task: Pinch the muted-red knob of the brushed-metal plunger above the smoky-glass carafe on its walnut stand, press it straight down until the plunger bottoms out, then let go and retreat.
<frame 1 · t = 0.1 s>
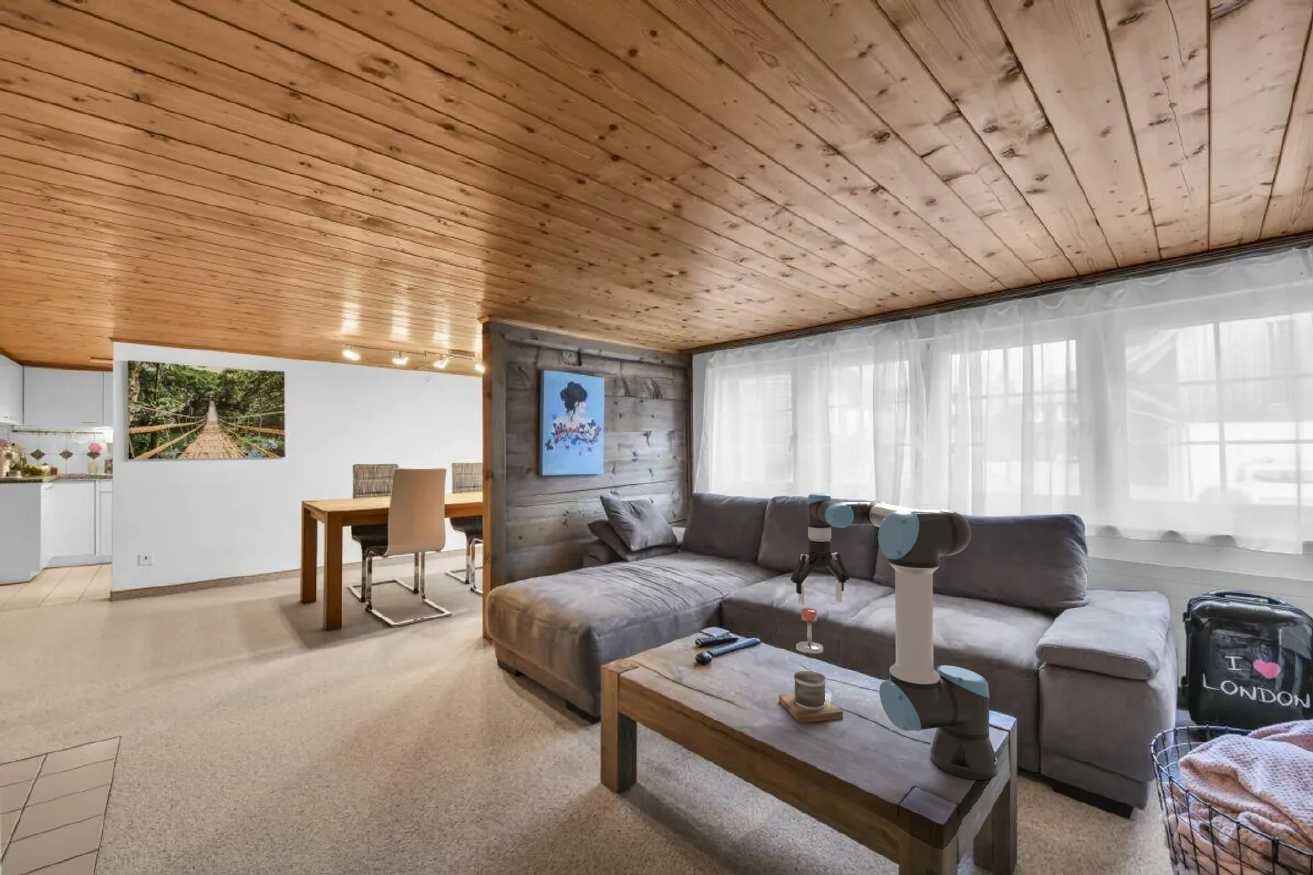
hand: (820, 602, 187), 28 cm above the table, fingers open, 13 cm apart
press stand: (810, 709, 169), on the table
plunger: (809, 629, 170), point 24 cm above the table, slide at 8.0 cm
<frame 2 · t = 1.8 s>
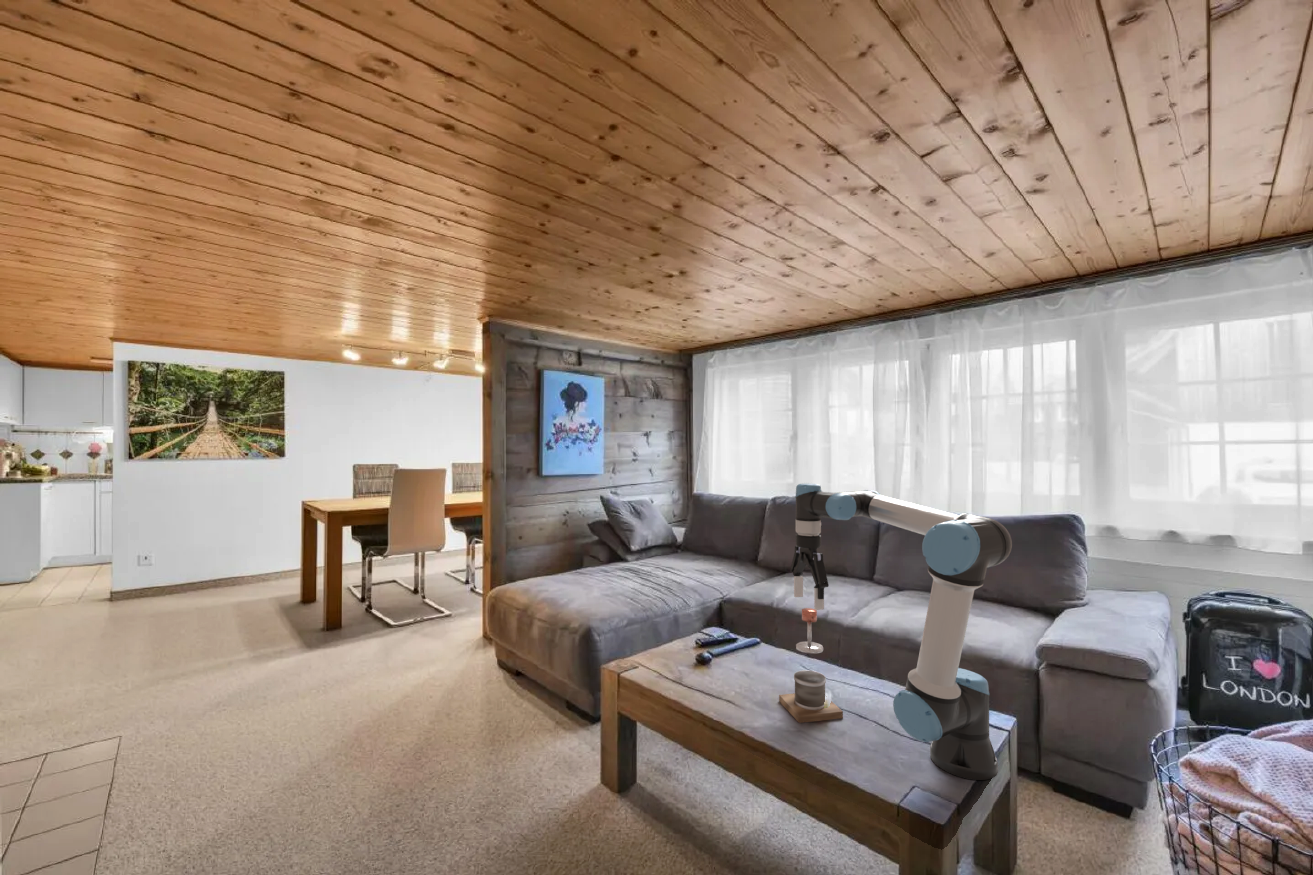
hand: (808, 602, 170), 32 cm above the table, fingers open, 13 cm apart
nothing on the table moved.
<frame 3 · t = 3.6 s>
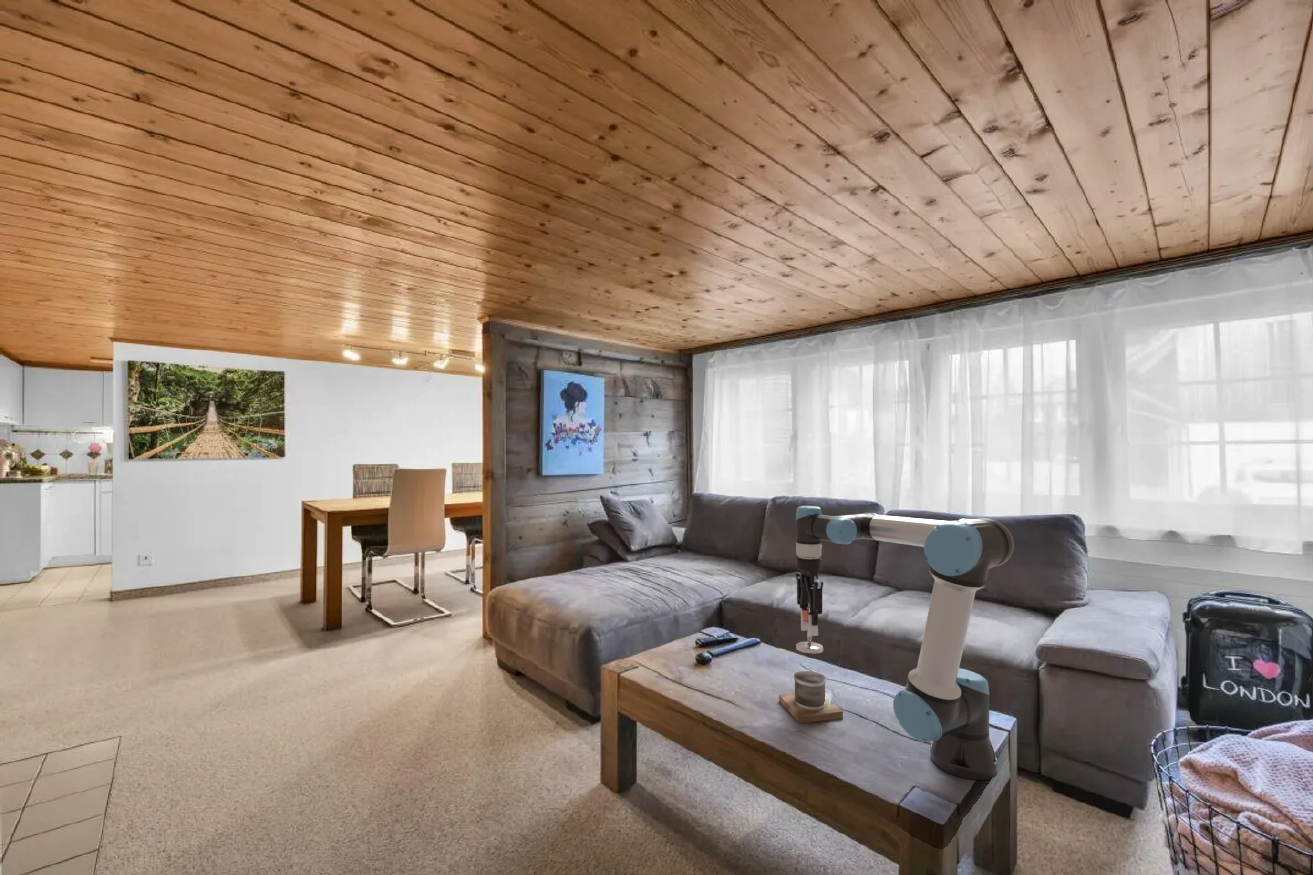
hand: (809, 632, 170), 23 cm above the table, fingers closed on plunger, 4 cm apart
plunger: (809, 629, 170), point 24 cm above the table, slide at 8.0 cm, touching gripper
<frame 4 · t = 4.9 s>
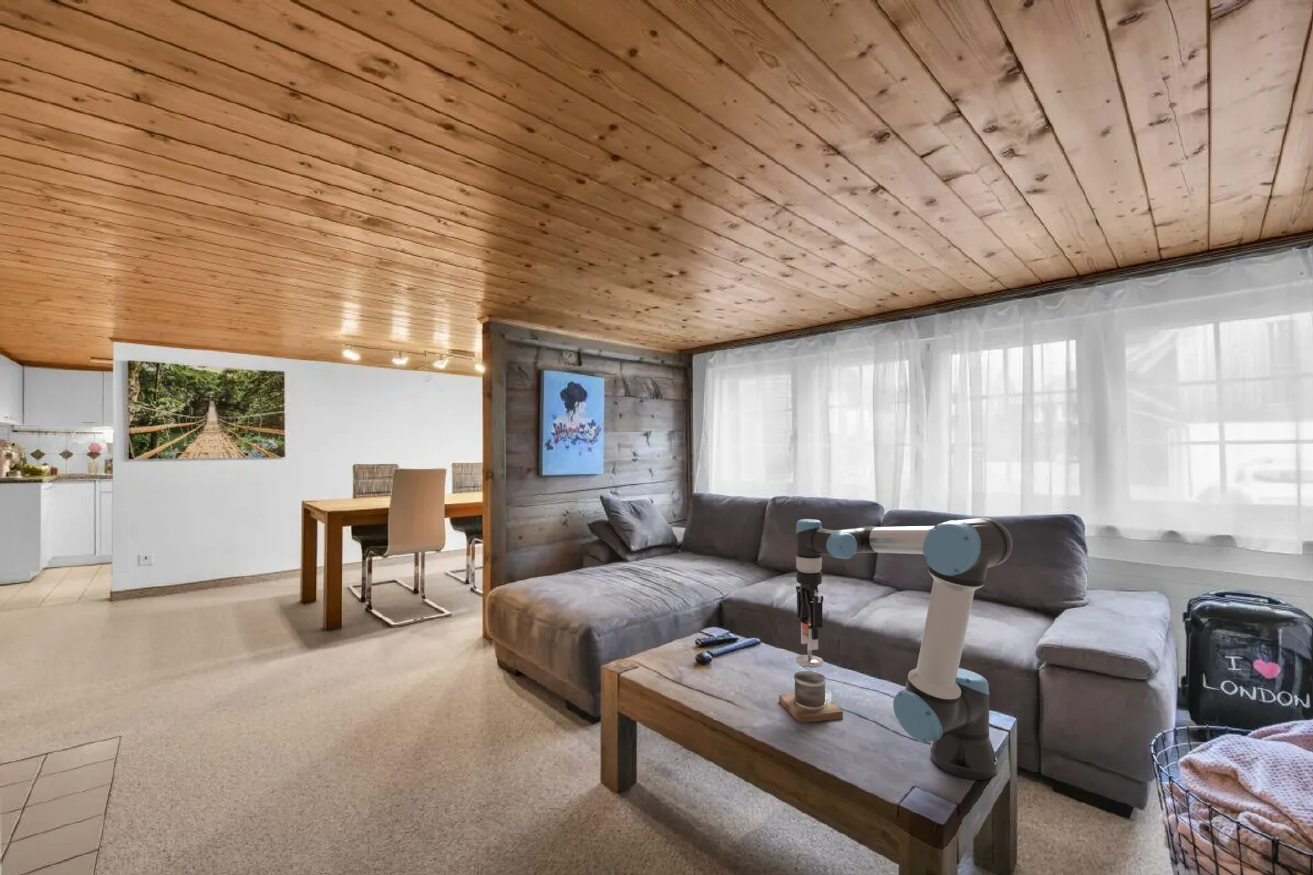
hand: (809, 646, 170), 19 cm above the table, fingers closed on plunger, 4 cm apart
plunger: (809, 643, 170), point 20 cm above the table, slide at 3.8 cm, touching gripper
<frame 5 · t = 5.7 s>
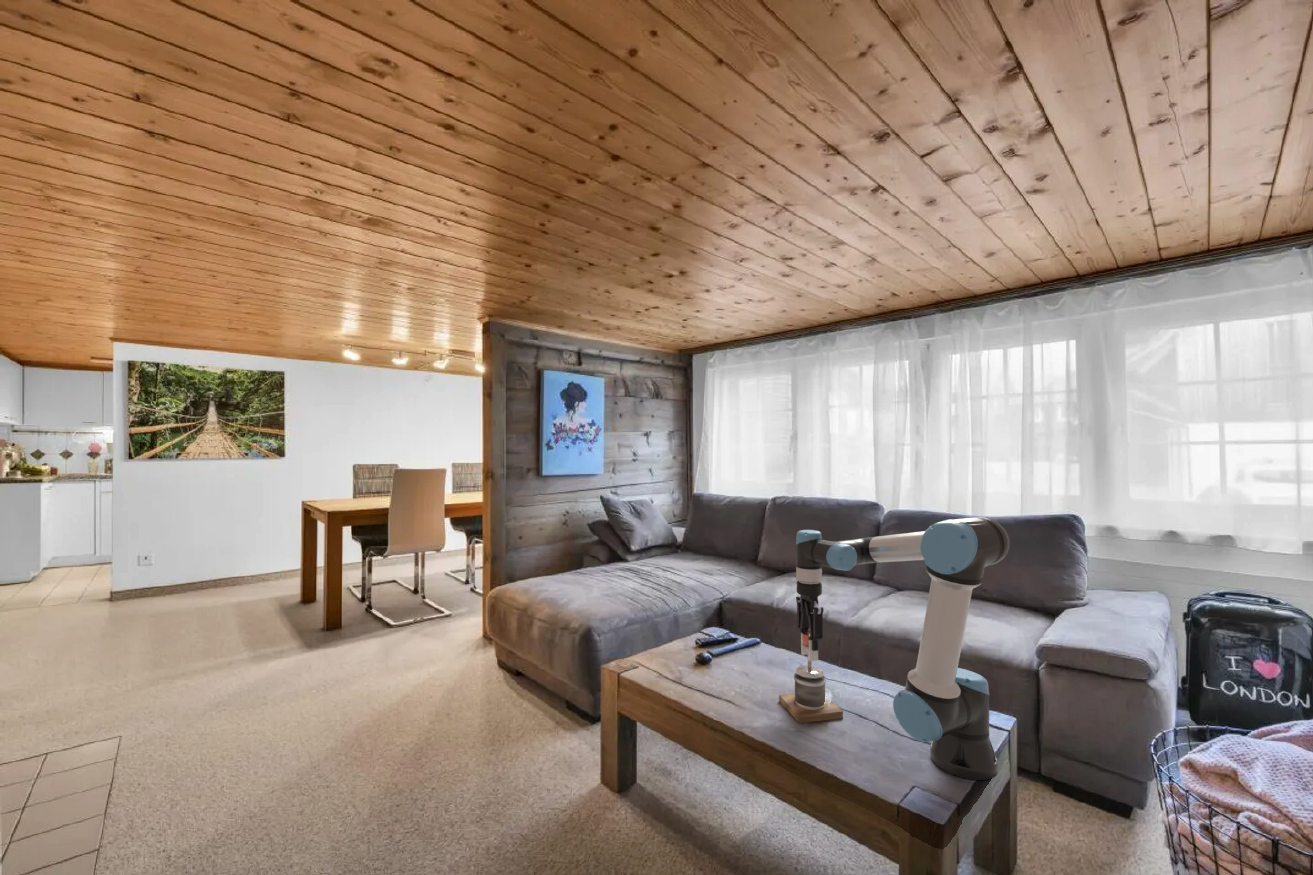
hand: (809, 657, 170), 16 cm above the table, fingers closed on plunger, 4 cm apart
plunger: (809, 654, 170), point 17 cm above the table, slide at 0.5 cm, touching gripper
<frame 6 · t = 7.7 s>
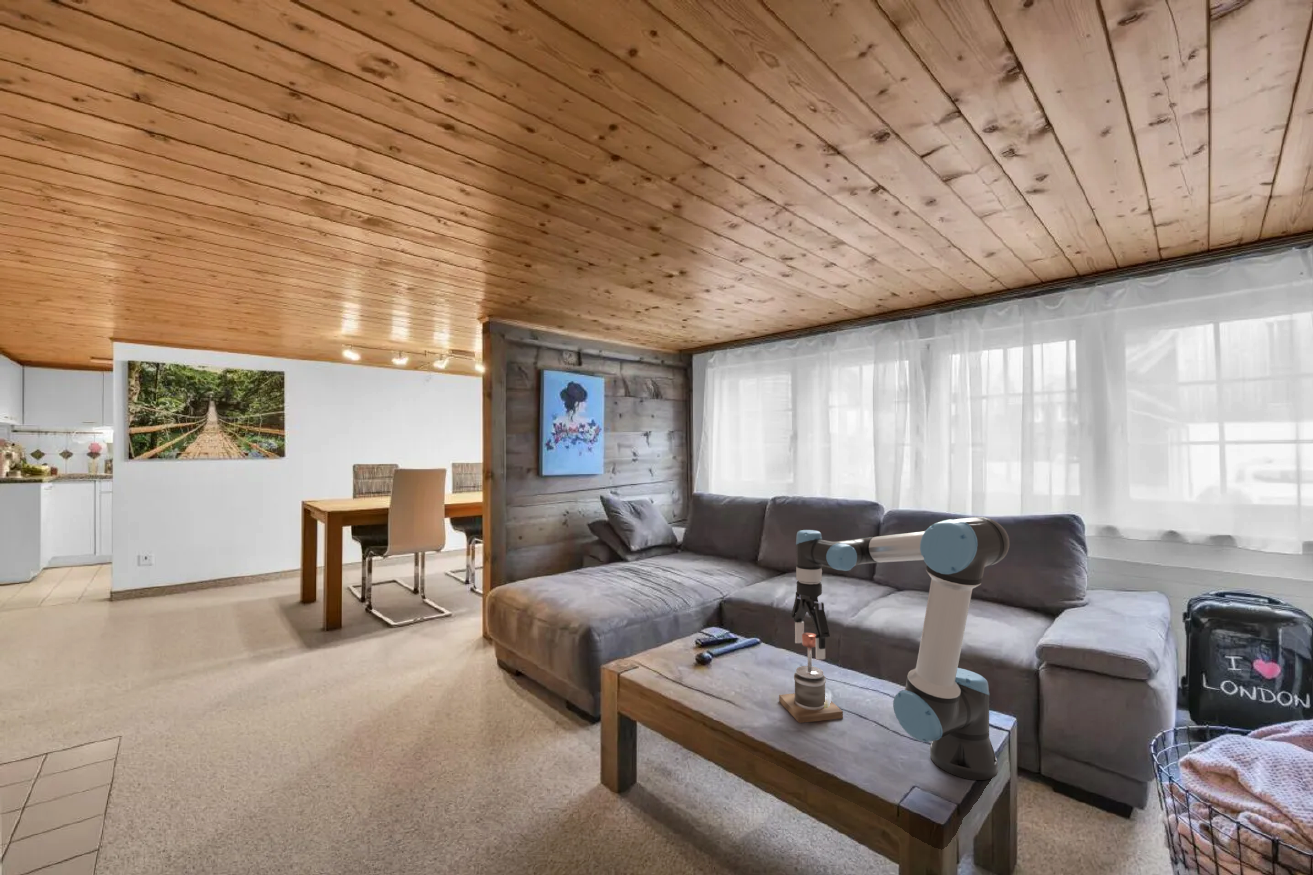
hand: (809, 650, 170), 18 cm above the table, fingers open, 13 cm apart
plunger: (809, 654, 170), point 17 cm above the table, slide at 0.4 cm
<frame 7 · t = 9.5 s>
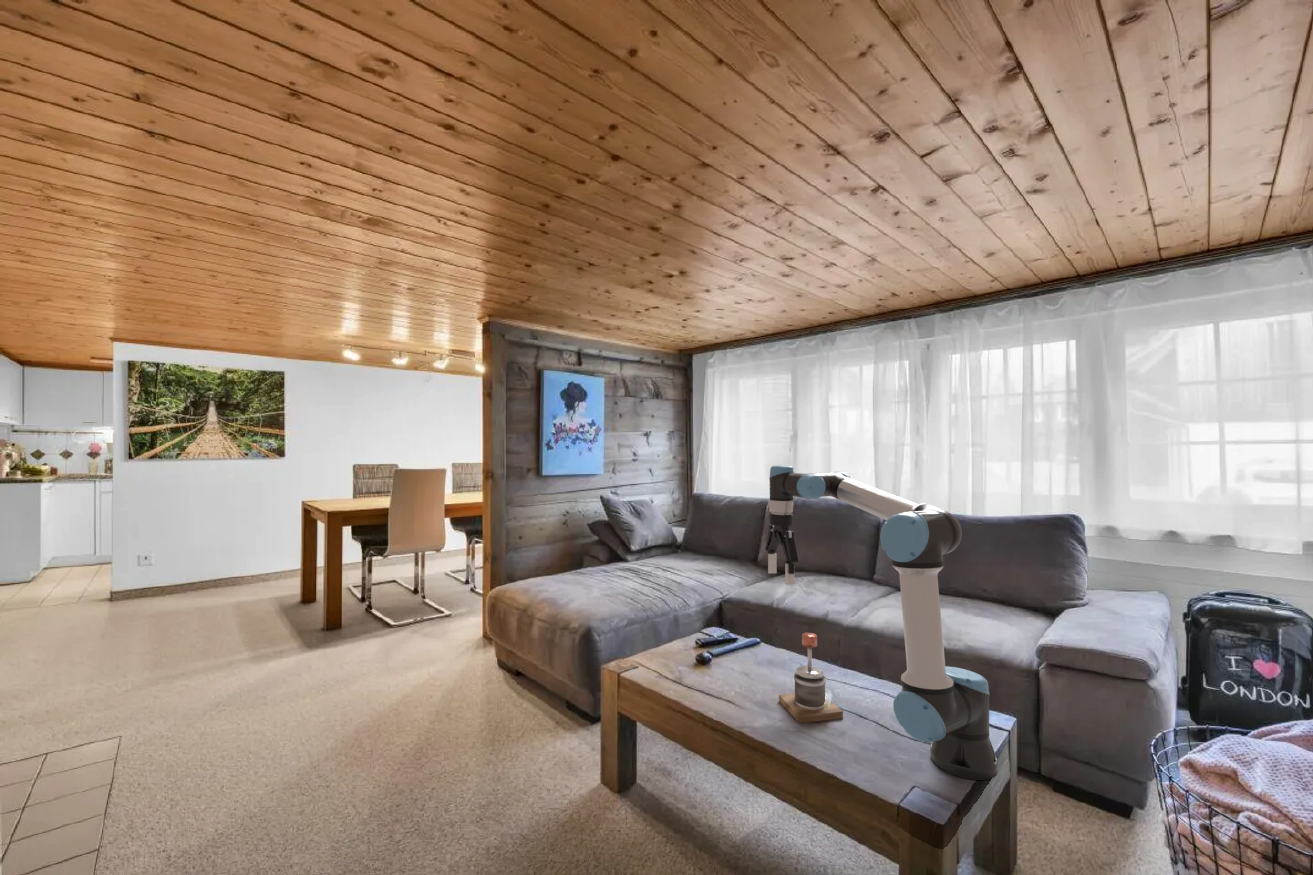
hand: (780, 578, 180), 38 cm above the table, fingers open, 13 cm apart
nothing on the table moved.
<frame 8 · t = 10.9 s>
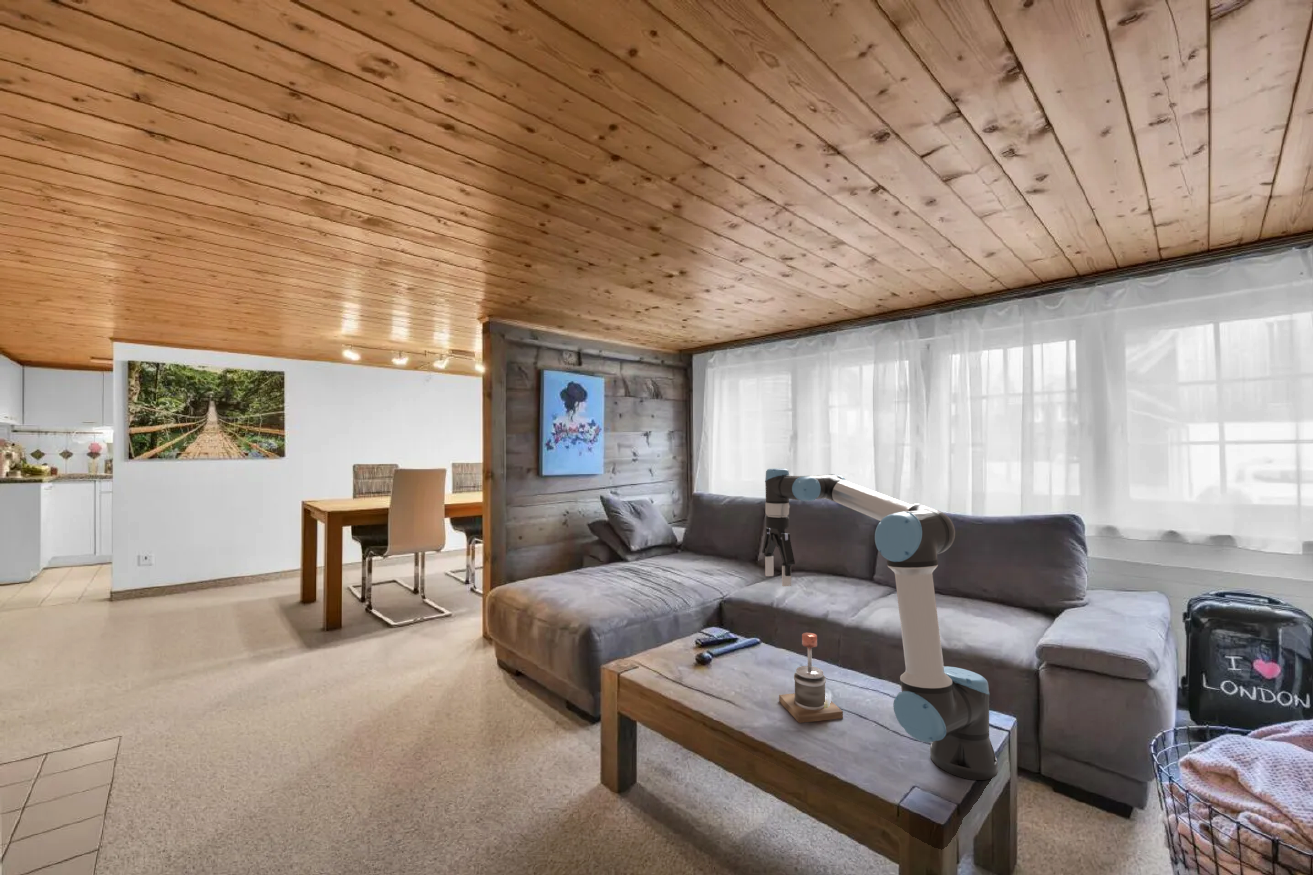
hand: (777, 580, 181), 37 cm above the table, fingers open, 13 cm apart
nothing on the table moved.
at the end: plunger slide at 0.4 cm; the gripper is holding nothing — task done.
